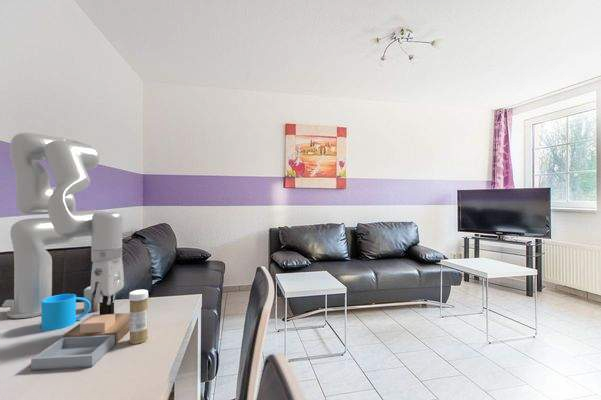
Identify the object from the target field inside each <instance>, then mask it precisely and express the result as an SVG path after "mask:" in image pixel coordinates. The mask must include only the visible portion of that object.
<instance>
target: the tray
mask: <svg viewBox="0 0 601 400" xmlns="http://www.w3.org/2000/svg"><path fill="white" fill-rule="evenodd" d="M115 345H116V344H115V335H98V336H77V337H63V336H61V338H60V339H58V340H56V341H55V342H54V343H53V344H51V345H50V346H48V347H47V348H45V349H44V350H43V351H41V352H39V353H38V354H37V355H35V356H34V357H32V358H31V360H30V361H31V362H30V365H31V366H30V370H31V372H34V371H46V370H47V371H49V370H67V369H80V368H81V369H83V368H85V369H86V368H93V367H94V366H95V365H96V364H97V363H98V362H99V361H100V360H101V359H102V358H103V357H104V356H105V355H106V354H107V353H108V352H109V351H110V350H111V349H112V348H113V347H114V346H115Z"/></svg>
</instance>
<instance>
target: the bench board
mask: <svg viewBox="0 0 601 400" xmlns="http://www.w3.org/2000/svg"><path fill="white" fill-rule="evenodd" d="M114 314H115V323H114V324H113V325H112V326H111V327H110V328H109V329H107V330H106V331H105V332H95V333H80V324H81V323H82V322H83V321H85V320H86V319H88V318H89V317H87V318H86V319H84V320H83V321H82V322H80V323H79V324H77V325H75V326H74V327H73V328H71V329H70V330H69V331H67V332H65V333H64V334H63V335H62V337H77V336H98V335H115V345H117V344H118V343H119V341H121V340H122V339H123V338H124V337H125V336H126V335H127V334H128V333H130V312H126V313H125V312H123V313H121V312H120V313H119V312H117V313H114ZM92 315H100V313H99V314H98V313H97V314H95V313H94V314H92Z"/></svg>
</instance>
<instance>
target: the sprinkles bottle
mask: <svg viewBox="0 0 601 400" xmlns="http://www.w3.org/2000/svg"><path fill="white" fill-rule="evenodd" d="M128 294H129V295H128V300H129V313H130V331H129V340H128V342H129V343H130V344H134V345H137V344H142V343H144V342H145V341H147V340H148V338H149V336H148V326H149V321H148V320H149V315H148V312H149V310H148V299H149V290H147V289H136V290H135V289H134V290H132V291H130V292H129V293H128Z"/></svg>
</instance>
